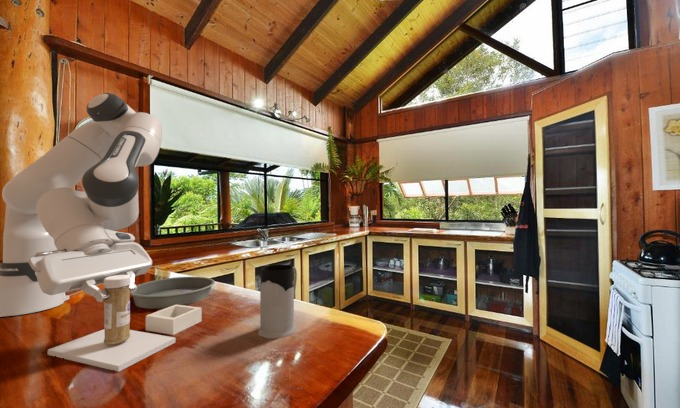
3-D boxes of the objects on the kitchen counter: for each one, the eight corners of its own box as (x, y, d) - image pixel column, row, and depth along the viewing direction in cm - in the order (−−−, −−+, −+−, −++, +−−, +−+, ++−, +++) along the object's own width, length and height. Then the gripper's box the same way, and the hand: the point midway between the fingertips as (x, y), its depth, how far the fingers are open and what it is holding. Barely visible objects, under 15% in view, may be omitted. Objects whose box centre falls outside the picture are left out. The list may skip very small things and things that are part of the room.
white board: (47, 354, 58) (47, 349, 58) (111, 330, 69) (111, 326, 69) (118, 371, 52) (118, 366, 52) (175, 342, 63) (175, 337, 63)
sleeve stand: (145, 330, 69) (145, 315, 69) (176, 317, 78) (176, 304, 78) (173, 334, 67) (173, 319, 67) (201, 321, 75) (201, 307, 75)
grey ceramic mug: (250, 335, 66) (250, 270, 67) (281, 314, 80) (281, 259, 80) (284, 340, 64) (284, 272, 64) (310, 317, 77) (310, 261, 77)
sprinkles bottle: (129, 341, 60) (130, 277, 60) (101, 347, 58) (102, 280, 58) (130, 333, 64) (131, 273, 64) (104, 338, 62) (104, 275, 62)
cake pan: (192, 311, 83) (192, 295, 83) (107, 311, 83) (107, 295, 83) (226, 288, 108) (226, 276, 108) (160, 288, 108) (160, 276, 108)
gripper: (32, 242, 53) (66, 300, 50) (139, 233, 73) (168, 274, 70) (17, 265, 55) (49, 323, 52) (126, 250, 74) (154, 291, 71)
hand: (119, 295), depth 61 cm, fingers closed on sprinkles bottle, 4 cm apart
